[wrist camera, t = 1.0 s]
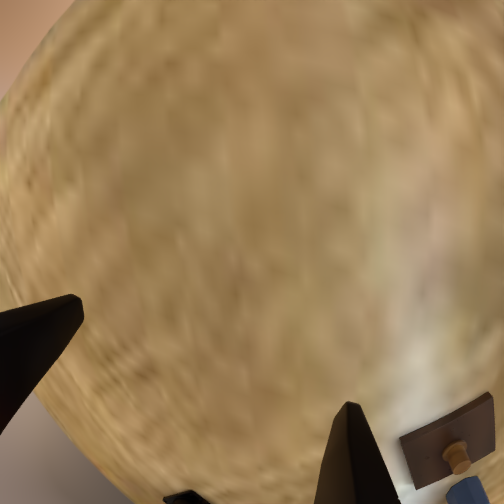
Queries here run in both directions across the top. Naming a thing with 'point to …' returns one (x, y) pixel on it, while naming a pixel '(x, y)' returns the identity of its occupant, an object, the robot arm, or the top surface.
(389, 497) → the robot arm
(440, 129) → the top surface
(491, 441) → the brown plate with knob
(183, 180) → the top surface
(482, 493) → the blue sleeve
